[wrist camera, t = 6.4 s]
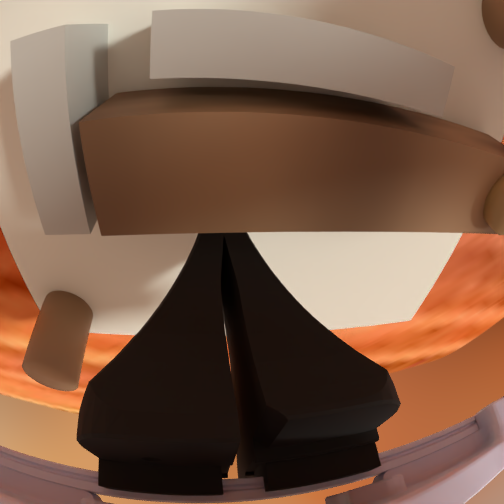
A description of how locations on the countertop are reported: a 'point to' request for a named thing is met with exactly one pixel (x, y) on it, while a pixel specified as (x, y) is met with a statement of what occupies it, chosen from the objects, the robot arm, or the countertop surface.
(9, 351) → the countertop surface
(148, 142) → the hinged leg
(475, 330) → the countertop surface
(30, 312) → the countertop surface
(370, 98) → the white block puzzle board
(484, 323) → the countertop surface
